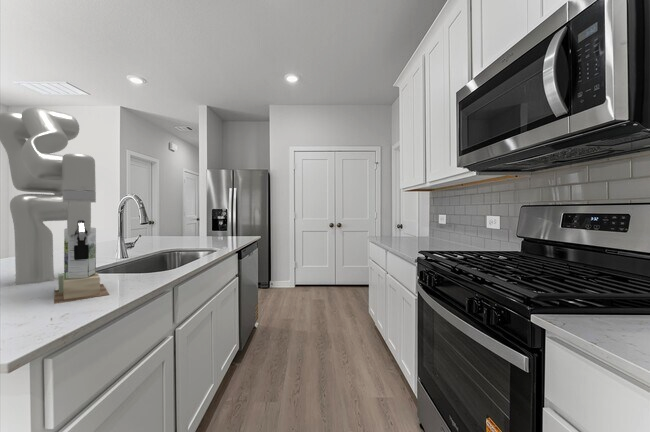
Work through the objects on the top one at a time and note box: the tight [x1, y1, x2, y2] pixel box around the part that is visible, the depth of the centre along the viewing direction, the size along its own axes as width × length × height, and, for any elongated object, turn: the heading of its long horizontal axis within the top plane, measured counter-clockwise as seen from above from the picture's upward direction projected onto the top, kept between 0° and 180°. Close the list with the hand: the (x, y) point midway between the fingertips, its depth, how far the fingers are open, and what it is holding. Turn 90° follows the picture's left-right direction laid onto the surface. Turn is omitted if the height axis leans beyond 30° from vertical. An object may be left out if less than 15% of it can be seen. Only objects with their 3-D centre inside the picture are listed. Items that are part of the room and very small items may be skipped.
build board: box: [53, 283, 110, 305], centre depth 90 cm, size 18×12×2 cm, turn 42°
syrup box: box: [63, 226, 97, 279], centre depth 88 cm, size 6×6×14 cm
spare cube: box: [57, 272, 64, 293], centre depth 93 cm, size 5×5×5 cm
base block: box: [63, 272, 101, 300], centre depth 88 cm, size 8×8×5 cm
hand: (80, 257), depth 88 cm, fingers open, 7 cm apart
